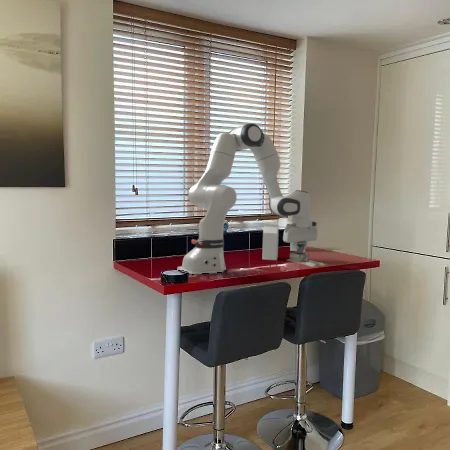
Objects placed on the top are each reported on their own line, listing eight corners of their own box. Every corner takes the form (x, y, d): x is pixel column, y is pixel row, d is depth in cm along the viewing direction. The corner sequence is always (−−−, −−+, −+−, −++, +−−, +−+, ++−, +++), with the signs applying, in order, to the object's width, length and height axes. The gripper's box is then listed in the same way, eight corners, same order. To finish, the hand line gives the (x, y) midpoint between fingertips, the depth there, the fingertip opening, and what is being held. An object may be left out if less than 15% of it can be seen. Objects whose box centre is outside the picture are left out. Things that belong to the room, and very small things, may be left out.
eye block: (311, 269, 212) (312, 259, 211) (285, 262, 228) (285, 252, 227) (328, 267, 218) (328, 257, 218) (301, 260, 234) (301, 251, 233)
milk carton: (276, 263, 226) (277, 225, 224) (262, 262, 228) (263, 224, 226) (277, 260, 233) (278, 224, 231) (263, 259, 235) (265, 223, 233)
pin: (299, 261, 223) (299, 242, 222) (291, 259, 228) (292, 241, 227) (307, 260, 226) (308, 242, 225) (299, 258, 231) (300, 240, 230)
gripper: (289, 224, 216) (288, 252, 218) (320, 222, 228) (318, 249, 229) (280, 223, 222) (279, 250, 223) (311, 221, 233) (309, 248, 234)
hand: (299, 250), depth 226 cm, fingers closed on pin, 3 cm apart
